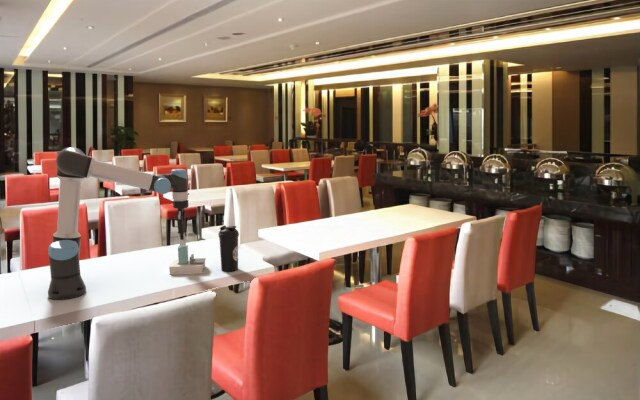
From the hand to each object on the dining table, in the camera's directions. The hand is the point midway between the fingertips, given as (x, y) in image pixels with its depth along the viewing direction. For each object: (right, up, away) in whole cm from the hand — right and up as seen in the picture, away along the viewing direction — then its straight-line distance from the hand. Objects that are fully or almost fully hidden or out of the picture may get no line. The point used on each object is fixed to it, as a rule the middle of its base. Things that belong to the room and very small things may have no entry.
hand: (182, 245), depth 249 cm
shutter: (+7, -9, +2) cm, 12 cm away
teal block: (0, -12, +2) cm, 13 cm away
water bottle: (+23, -13, +4) cm, 27 cm away
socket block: (+2, -13, +2) cm, 14 cm away
